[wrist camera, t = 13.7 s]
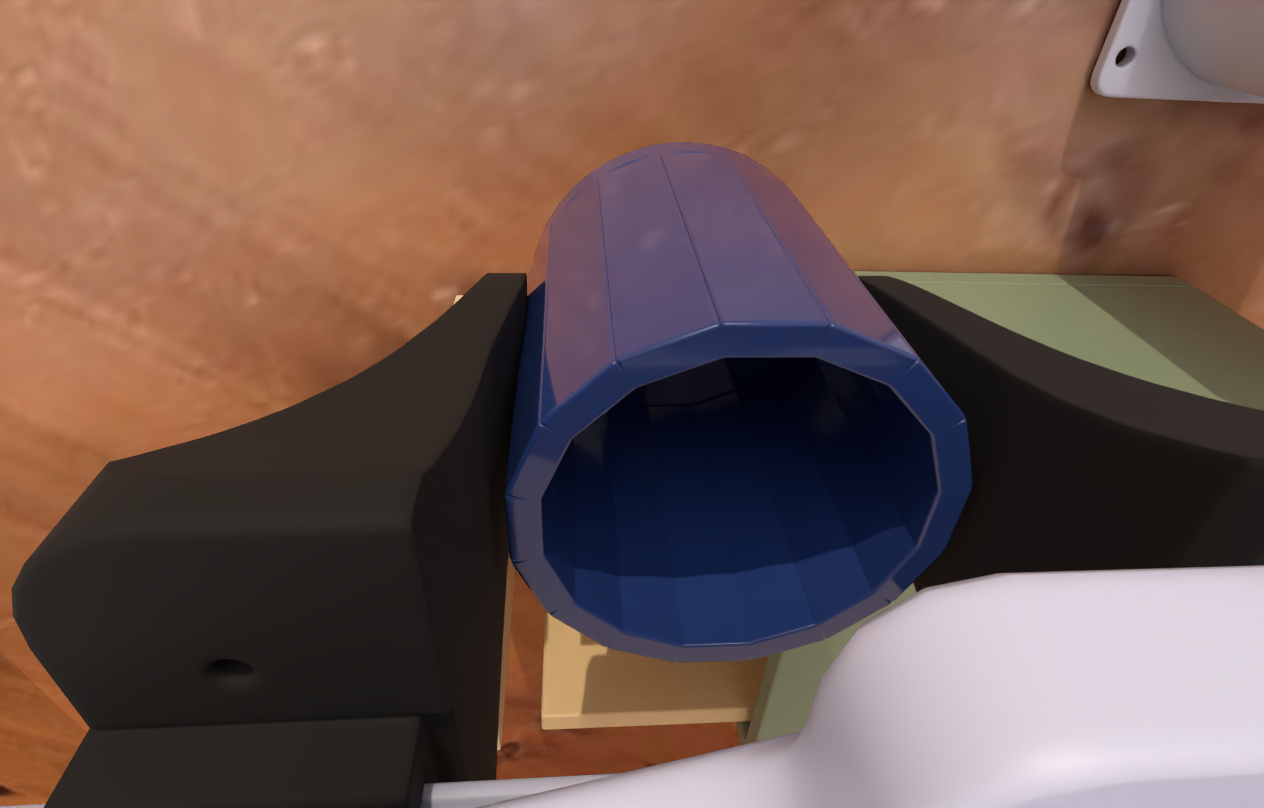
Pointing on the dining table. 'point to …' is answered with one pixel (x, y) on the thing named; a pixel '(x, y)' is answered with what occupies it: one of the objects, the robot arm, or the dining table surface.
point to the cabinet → (1087, 329)
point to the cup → (717, 420)
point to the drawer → (629, 682)
